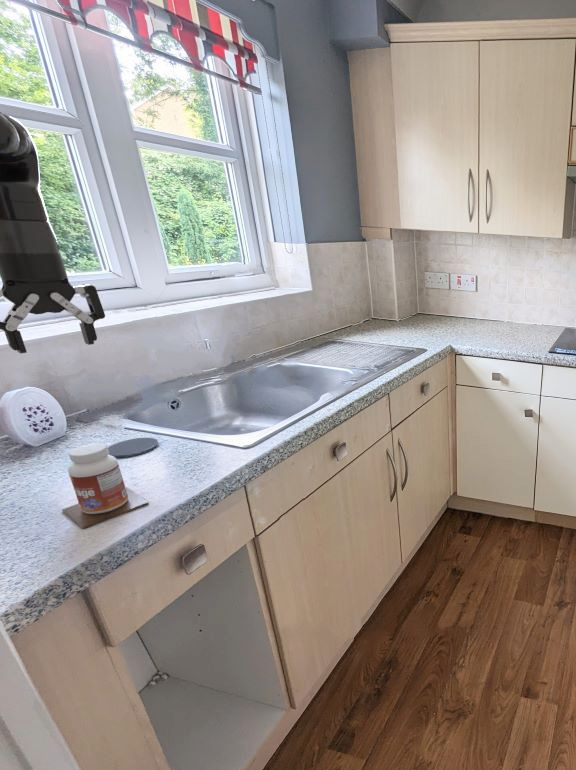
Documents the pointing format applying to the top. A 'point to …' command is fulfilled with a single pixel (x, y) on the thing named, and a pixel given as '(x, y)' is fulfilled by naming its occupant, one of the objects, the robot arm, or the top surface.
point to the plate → (132, 447)
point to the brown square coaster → (92, 519)
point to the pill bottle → (96, 479)
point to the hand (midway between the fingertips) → (57, 348)
